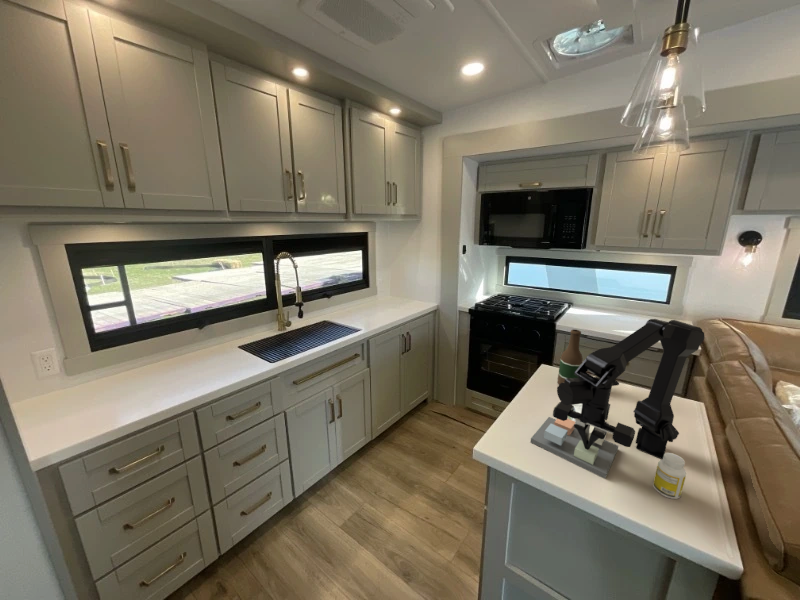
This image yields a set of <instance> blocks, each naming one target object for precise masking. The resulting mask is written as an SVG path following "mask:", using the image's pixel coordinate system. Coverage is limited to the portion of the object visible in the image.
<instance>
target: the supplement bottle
mask: <svg viewBox="0 0 800 600" xmlns="http://www.w3.org/2000/svg"><path fill="white" fill-rule="evenodd" d="M685 464H686V461H685V460H684V458H683V457H681V456H680V455H678V454H676V453H672V452H665V454H664V456H663V459H660V460H658V463H657V466H656V471H655V475H654V478H653V479H654V480H653V486H652V487H653V488H654V489H655V491H657V492H658V493H659V494H660V495H662V496H663V497H664V498H665V497H666V498H667V499H672V500H677V499H680V498H681V495H682V492H683V487H684V485H685V484H684V483H685V480H686V477H687V471H686V469H685V468H684V467H685Z"/></svg>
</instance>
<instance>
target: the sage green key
mask: <svg viewBox="0 0 800 600" xmlns="http://www.w3.org/2000/svg"><path fill="white" fill-rule="evenodd" d="M598 450H599V448H597V447H595V446H593V445H591V447H590V448H589V449H588V450H587V449H585V447H584V444H583V441H581V440H580V441H579V443H578V444H577V446H576V448H575V451H574V456H575V457H577V458H579V459H581V460H584V461H586V462H588V463H590V464H592V465H593V464H594V462H595V460H596V458H597V456H598Z"/></svg>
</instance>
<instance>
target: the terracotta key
mask: <svg viewBox="0 0 800 600" xmlns="http://www.w3.org/2000/svg"><path fill="white" fill-rule="evenodd" d="M555 420H556V421H555V422H554V425H556V426H558V427H560V428H563V429H565V430H567V435H569V436H570V435H571V433H572V432H573V430H574V429H575V428H574V424H575V421H572V420H570V419H569V418H567V420H565V421H562V420H560V419H557V418H555Z"/></svg>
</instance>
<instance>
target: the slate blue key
mask: <svg viewBox="0 0 800 600" xmlns="http://www.w3.org/2000/svg"><path fill="white" fill-rule="evenodd" d="M566 437H567V430H565V429H563V428H560V427H558V426H556V425H553V424H550V425H549V426H548V428H547V429H546V430H545V434H544V438H545V439H547V440H550V441H552V442H554V443H556V444H558V445H560V446H561V445H562V443H563V442H564V440H565V439H566Z"/></svg>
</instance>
